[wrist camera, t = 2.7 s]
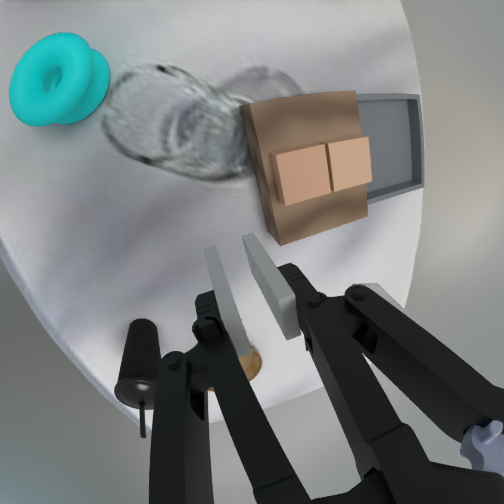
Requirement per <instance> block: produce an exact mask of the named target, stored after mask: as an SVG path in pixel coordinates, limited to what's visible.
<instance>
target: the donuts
mask: <svg viewBox="0 0 504 504" xmlns="http://www.w3.org/2000/svg"><path fill="white" fill-rule="evenodd" d="M109 81H110V70H109V66H108V63H107V61H106V59H105V58H104V56H103V55H102V54H101V53H99V52H98V51H96V50H94V49H91V48H90V46H89V45H88V43H87V42H86V41H85V40H84V39H83V38H81V37H80V36H78V35H76V34H73V33H56V34H53V35H50V36H47V37H45V38H43V39H42V40H40V41H38V42H37V43H36V44H34V45H33V46H32V47H31V48H30V49H29V50H28V51H27V52H26V53H25V54H24V55H23V57H22V58H21V59H20V61H19V63H18V64H17V66H16V68H15V70H14V73H13V75H12V78H11V82H10V88H9V100H10V105H11V108H12V110H13V112H14V114H15V116H16V117H17V118H18V119H19V120H20V121H21V122H23V123H25V124H27V125H29V126H34V127H41V126H47V125H50V124H53V123H59V124H70V123H75V122H77V121H80V120H82V119H84V118H85V117H87V116H88V115H90V114H91V113H92V112H93V111H94V110H95V109H96V108H97V107H98V106H99V104H100V103H101V101H102V100H103V98H104V96H105V94H106V92H107V89H108V86H109Z"/></svg>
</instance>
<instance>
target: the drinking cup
mask: <svg viewBox="0 0 504 504" xmlns="http://www.w3.org/2000/svg"><path fill="white" fill-rule="evenodd" d="M160 361H161V354H160V347H159V340H158V333H157V327H156V325H155V324H154V323H153V322H151V321H149V320H147V319H137V320H134V321H133V322H132V323H131V324H130V327H129V331H128V335H127V339H126V344H125V348H124V352H123V357H122V362H121V367H120V372H119V377H118V382H117V384H116V386H115V388H114V393H115V396H116V398H117V399H118V400H119V401H120V402H121V403H123V404H125V405H127V406H129V407H132V408H135V409H140V434H141V437H142V438H146V428H145V410H152V409H154V402H155V393H156V384H157V376H158V369H159V363H160Z"/></svg>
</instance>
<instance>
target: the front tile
mask: <svg viewBox="0 0 504 504" xmlns="http://www.w3.org/2000/svg"><path fill="white" fill-rule="evenodd" d="M270 157H271V162H272V167H273V171H274V176H275V181H276V186H277V191H278V196H279V201H280V202H281V203H282V204H284V205H285V206H288V205H291V204H294V203H298V202H301V201H304V200H308V199H311V198H315V197H318V196H322V195H325V194H328V193H331V189H330V181H329V173H328V165H327V158H326V151H325V144H321V143H311V144H307V145H302V146H297V147H293V148H288V149H284V150H280V151H276V152H271V153H270Z"/></svg>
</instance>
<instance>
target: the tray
mask: <svg viewBox="0 0 504 504" xmlns="http://www.w3.org/2000/svg"><path fill="white" fill-rule="evenodd" d="M356 98H357V104H358V110H359V117H360V124H361V132H362V136H367V137H368V139H369V148H370V159H371V173H372V182H368V183H366V187H367V205H369V204H372V203H375V202H378V201H381V200H384V199H388V198H391V197H394V196H397V195H400V194H403V193H407V192H410V191H413V190H416V189H419V188H423V187H424V138H423V124H422V113H421V104H420V96H419V95H416V94H365V95H356Z"/></svg>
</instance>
